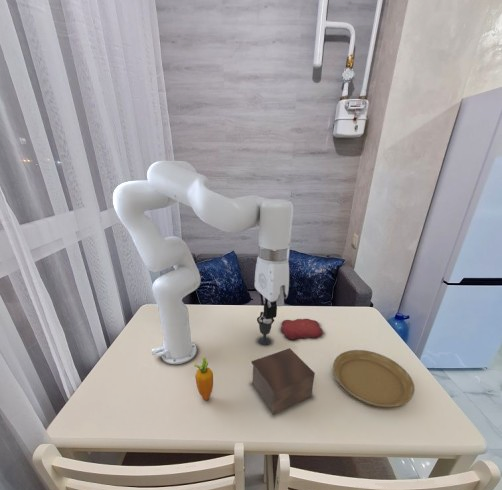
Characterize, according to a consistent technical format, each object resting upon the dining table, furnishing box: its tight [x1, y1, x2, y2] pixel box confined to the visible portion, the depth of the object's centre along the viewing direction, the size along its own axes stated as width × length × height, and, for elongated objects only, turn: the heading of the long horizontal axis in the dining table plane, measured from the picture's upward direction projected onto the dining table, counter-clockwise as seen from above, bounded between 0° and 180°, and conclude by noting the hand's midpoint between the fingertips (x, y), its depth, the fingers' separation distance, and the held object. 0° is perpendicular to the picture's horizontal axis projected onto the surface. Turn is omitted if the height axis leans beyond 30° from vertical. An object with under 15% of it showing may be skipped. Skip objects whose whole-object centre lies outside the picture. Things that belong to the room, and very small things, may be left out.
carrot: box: [193, 357, 214, 402], centre depth 75 cm, size 5×5×15 cm
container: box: [252, 365, 316, 415], centre depth 80 cm, size 14×13×9 cm
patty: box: [280, 318, 324, 341], centre depth 112 cm, size 18×14×2 cm
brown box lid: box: [250, 347, 316, 392], centre depth 78 cm, size 14×13×1 cm
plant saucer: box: [332, 349, 416, 408], centre depth 85 cm, size 24×24×3 cm
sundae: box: [256, 311, 275, 346], centre depth 101 cm, size 7×7×15 cm
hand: (269, 316), depth 72 cm, fingers closed
